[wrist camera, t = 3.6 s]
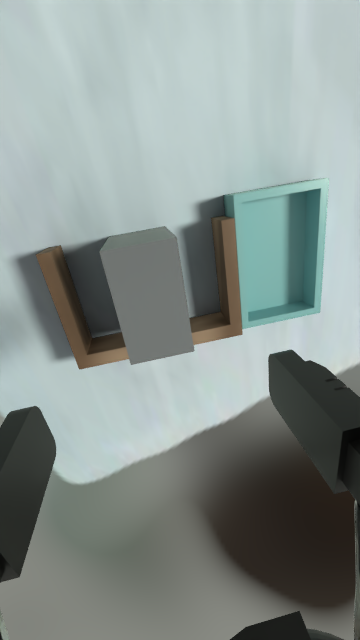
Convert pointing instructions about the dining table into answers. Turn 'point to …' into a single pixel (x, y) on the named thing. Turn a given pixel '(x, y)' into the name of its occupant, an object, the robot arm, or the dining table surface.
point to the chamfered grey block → (148, 293)
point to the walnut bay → (113, 345)
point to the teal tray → (279, 249)
